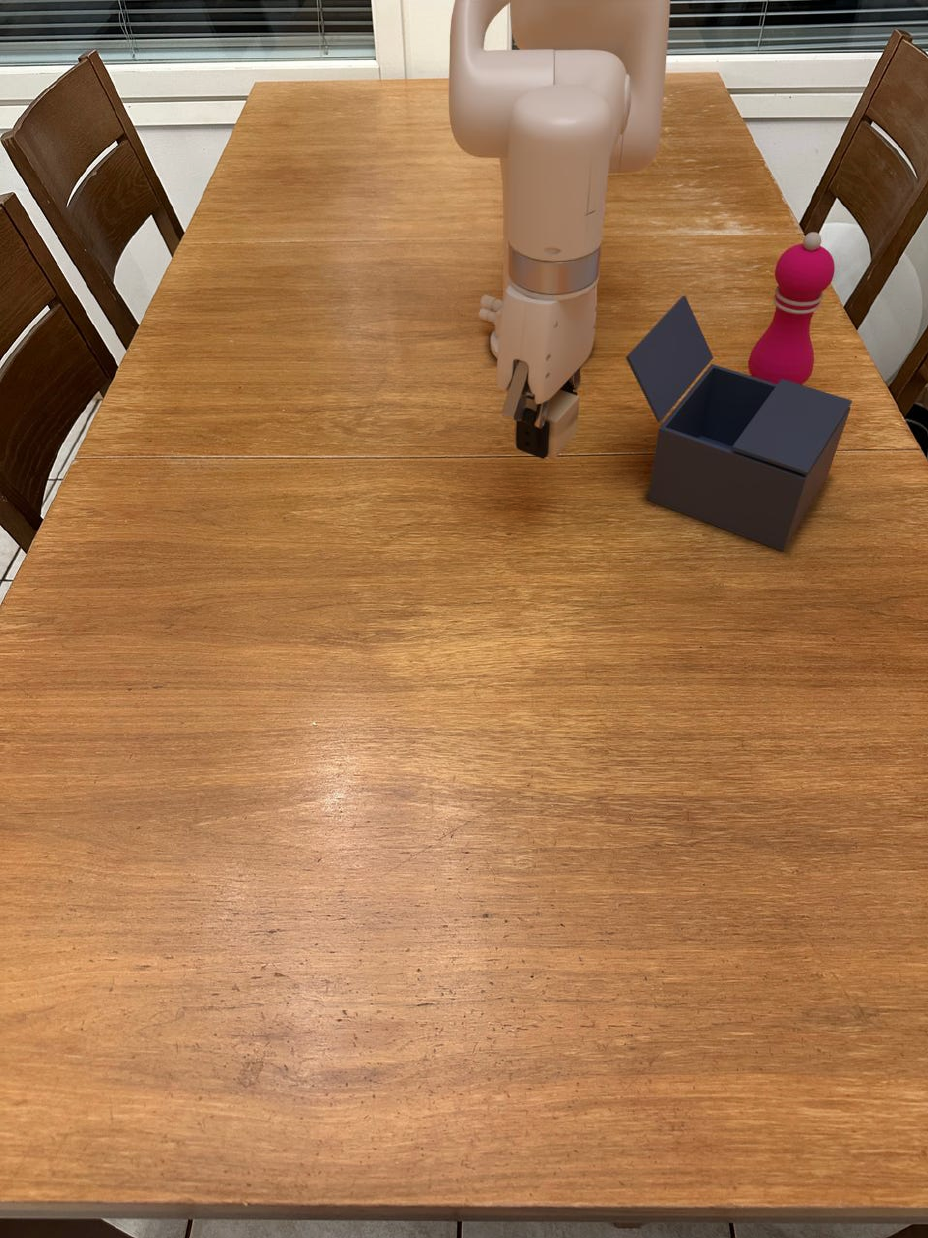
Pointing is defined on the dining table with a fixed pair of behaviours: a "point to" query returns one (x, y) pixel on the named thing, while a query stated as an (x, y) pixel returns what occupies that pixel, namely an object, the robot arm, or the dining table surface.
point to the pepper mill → (793, 313)
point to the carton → (747, 453)
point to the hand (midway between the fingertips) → (545, 435)
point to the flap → (670, 358)
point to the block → (559, 420)
